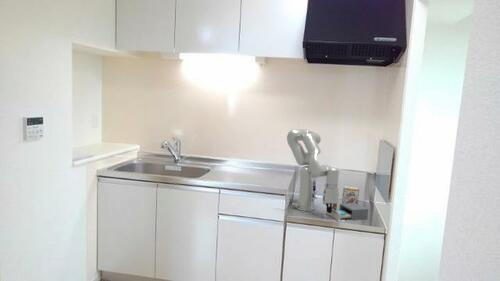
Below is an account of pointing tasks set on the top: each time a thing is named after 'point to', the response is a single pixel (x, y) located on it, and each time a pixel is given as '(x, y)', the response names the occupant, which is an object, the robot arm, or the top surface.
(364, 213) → the grey low box
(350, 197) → the candy bar box
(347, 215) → the tray
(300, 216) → the top surface
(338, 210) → the disc
